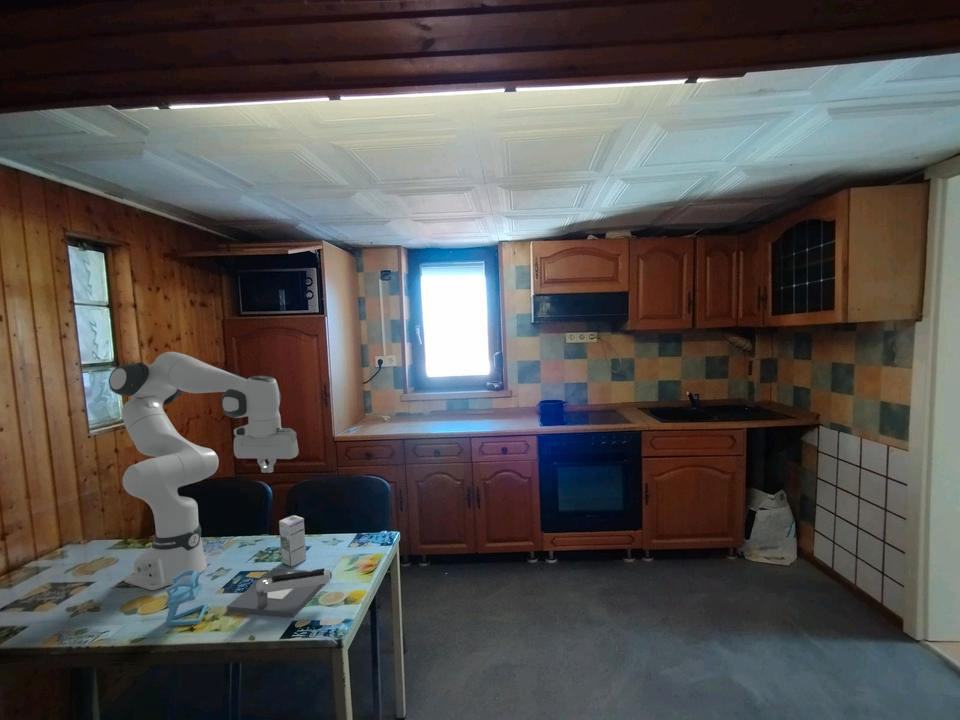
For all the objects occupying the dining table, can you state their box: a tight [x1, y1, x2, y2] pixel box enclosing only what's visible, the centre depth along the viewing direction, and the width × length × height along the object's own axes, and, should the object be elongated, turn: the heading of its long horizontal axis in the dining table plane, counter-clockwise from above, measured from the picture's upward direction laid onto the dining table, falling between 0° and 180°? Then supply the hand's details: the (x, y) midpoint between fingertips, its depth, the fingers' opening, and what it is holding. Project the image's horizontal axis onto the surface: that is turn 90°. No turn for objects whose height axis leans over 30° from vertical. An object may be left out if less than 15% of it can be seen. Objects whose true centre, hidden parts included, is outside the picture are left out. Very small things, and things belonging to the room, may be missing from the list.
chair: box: [164, 571, 208, 627], centre depth 107 cm, size 8×8×12 cm
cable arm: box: [255, 568, 331, 595], centre depth 111 cm, size 3×19×4 cm, turn 103°
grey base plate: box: [226, 567, 333, 619], centre depth 117 cm, size 20×19×5 cm
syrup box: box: [278, 514, 307, 568], centre depth 135 cm, size 6×6×14 cm
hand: (267, 472), depth 125 cm, fingers closed
